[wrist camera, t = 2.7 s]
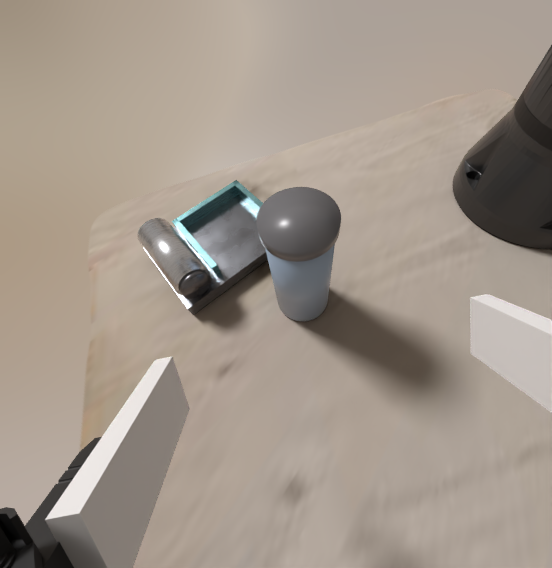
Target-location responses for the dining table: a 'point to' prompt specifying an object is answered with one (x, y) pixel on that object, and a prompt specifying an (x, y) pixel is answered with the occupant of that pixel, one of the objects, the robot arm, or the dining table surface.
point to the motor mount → (207, 245)
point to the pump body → (300, 248)
